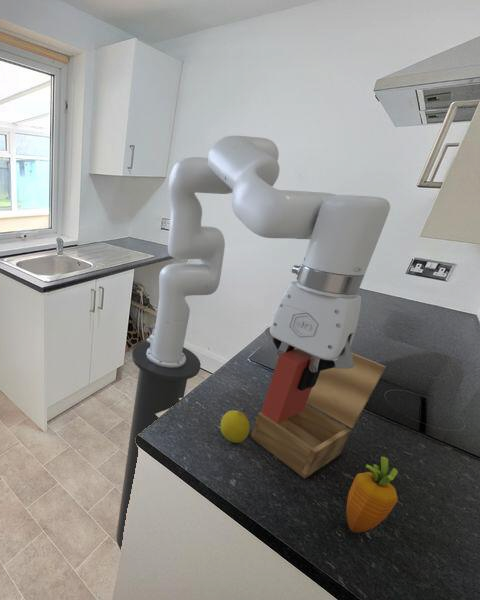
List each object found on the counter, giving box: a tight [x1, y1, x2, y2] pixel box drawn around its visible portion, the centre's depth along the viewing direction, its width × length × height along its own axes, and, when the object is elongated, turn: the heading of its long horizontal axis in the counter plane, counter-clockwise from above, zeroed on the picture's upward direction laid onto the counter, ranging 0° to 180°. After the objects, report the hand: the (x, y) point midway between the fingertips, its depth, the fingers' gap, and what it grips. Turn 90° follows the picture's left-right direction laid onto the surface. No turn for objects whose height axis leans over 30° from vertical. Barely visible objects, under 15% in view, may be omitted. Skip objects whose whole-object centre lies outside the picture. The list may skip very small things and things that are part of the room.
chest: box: [250, 403, 352, 479], centre depth 67 cm, size 14×12×7 cm
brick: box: [260, 349, 312, 424], centre depth 54 cm, size 3×8×12 cm, turn 118°
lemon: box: [219, 410, 250, 444], centre depth 67 cm, size 6×6×8 cm
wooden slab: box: [306, 352, 387, 429], centre depth 67 cm, size 14×12×1 cm
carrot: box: [345, 456, 399, 534], centre depth 49 cm, size 5×5×15 cm
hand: (293, 381), depth 54 cm, fingers closed on brick, 3 cm apart
